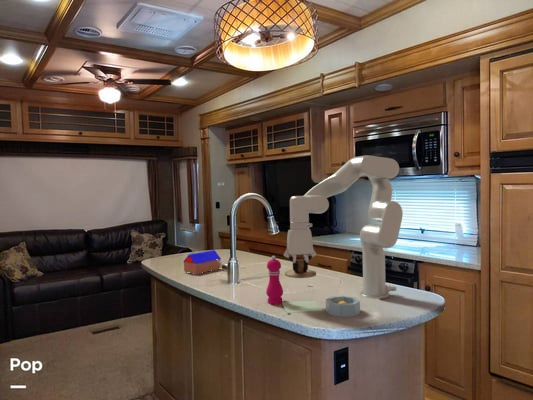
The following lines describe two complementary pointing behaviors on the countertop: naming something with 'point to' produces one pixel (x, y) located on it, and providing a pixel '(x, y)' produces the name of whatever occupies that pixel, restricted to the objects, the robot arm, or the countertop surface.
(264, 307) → the countertop surface
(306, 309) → the mat
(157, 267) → the countertop surface
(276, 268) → the pepper mill
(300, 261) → the lid
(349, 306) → the bowl
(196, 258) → the house
